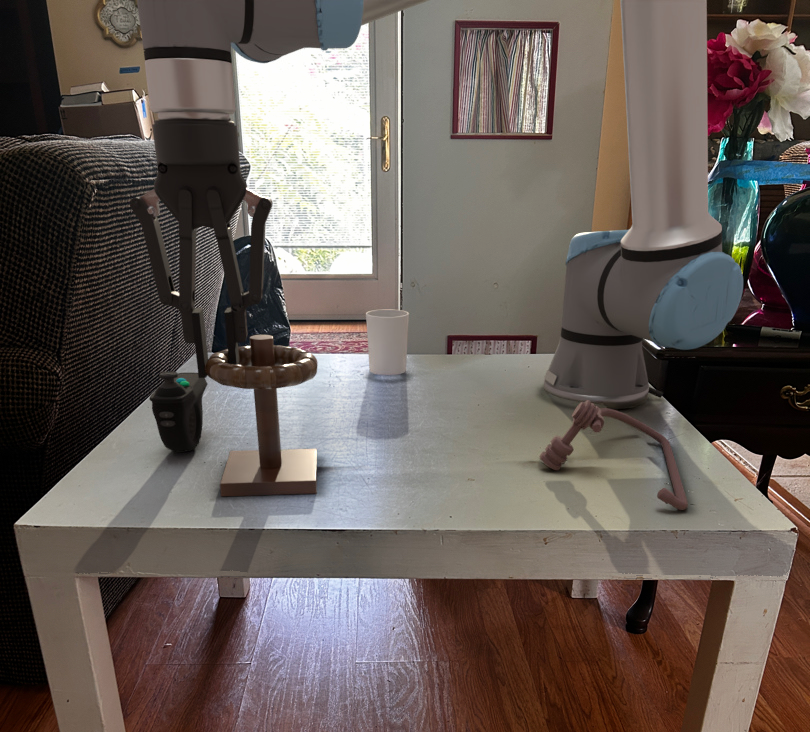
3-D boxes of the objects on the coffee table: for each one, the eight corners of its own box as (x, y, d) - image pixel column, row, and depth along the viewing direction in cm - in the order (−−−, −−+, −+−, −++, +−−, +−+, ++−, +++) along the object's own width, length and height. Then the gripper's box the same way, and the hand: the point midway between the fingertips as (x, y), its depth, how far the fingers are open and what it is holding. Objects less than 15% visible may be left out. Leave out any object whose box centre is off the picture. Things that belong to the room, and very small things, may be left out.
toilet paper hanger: (698, 501, 78) (583, 425, 77) (644, 561, 82) (534, 489, 81) (676, 433, 97) (583, 371, 96) (632, 484, 101) (543, 425, 100)
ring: (318, 363, 88) (318, 343, 87) (316, 391, 77) (316, 369, 76) (215, 362, 87) (213, 343, 86) (199, 391, 76) (197, 369, 75)
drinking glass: (408, 382, 123) (408, 317, 118) (365, 382, 123) (364, 317, 118) (408, 371, 129) (409, 309, 124) (368, 371, 129) (367, 309, 124)
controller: (154, 464, 90) (141, 379, 86) (182, 430, 102) (172, 353, 97) (191, 465, 90) (180, 379, 86) (215, 430, 101) (207, 353, 97)
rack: (317, 460, 92) (310, 326, 85) (316, 493, 83) (309, 347, 76) (231, 462, 91) (217, 327, 84) (221, 496, 82) (205, 348, 75)
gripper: (282, 120, 75) (296, 364, 85) (116, 118, 74) (150, 366, 84) (278, 117, 68) (293, 382, 79) (95, 115, 67) (135, 385, 77)
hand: (219, 373), depth 81 cm, fingers closed on ring, 2 cm apart
